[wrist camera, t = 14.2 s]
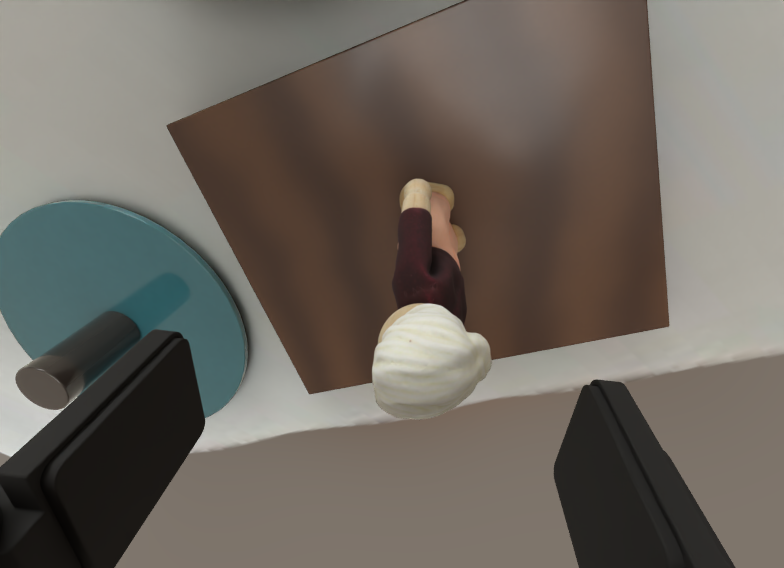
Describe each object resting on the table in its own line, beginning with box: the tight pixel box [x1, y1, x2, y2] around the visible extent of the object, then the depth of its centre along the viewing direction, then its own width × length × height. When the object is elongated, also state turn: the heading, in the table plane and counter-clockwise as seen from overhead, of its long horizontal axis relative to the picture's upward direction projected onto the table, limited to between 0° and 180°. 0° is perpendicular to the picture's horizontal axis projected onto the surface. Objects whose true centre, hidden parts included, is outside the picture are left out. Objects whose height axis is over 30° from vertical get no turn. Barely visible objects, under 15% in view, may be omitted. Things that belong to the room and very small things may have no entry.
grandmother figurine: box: [372, 179, 492, 420], centre depth 16 cm, size 8×4×13 cm, turn 27°
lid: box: [0, 200, 248, 418], centre depth 26 cm, size 18×18×7 cm
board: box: [167, 0, 669, 394], centre depth 22 cm, size 22×18×2 cm
